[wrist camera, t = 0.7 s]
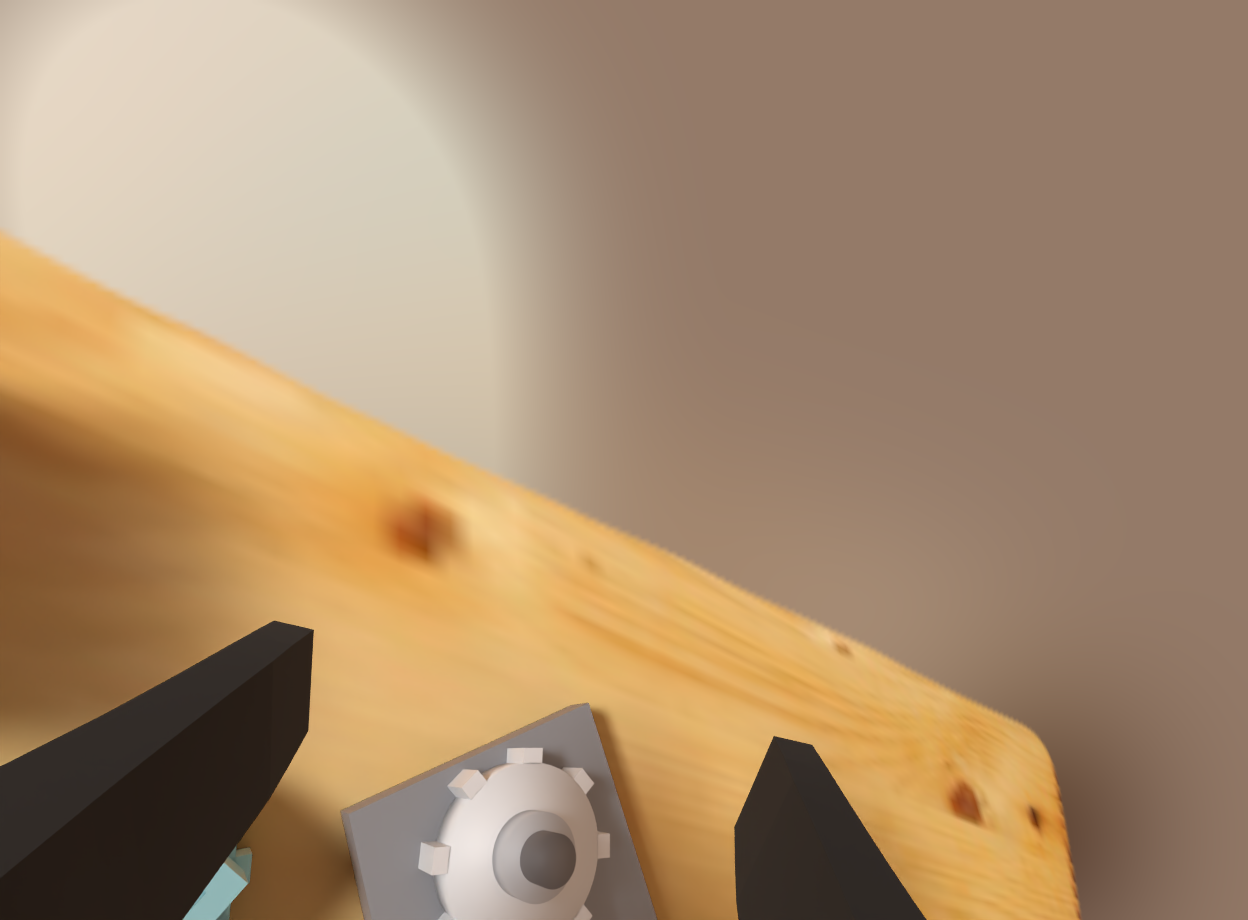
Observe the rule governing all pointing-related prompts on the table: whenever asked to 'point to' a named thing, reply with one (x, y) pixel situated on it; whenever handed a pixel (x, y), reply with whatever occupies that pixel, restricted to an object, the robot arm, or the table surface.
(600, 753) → the gear board
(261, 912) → the table surface
